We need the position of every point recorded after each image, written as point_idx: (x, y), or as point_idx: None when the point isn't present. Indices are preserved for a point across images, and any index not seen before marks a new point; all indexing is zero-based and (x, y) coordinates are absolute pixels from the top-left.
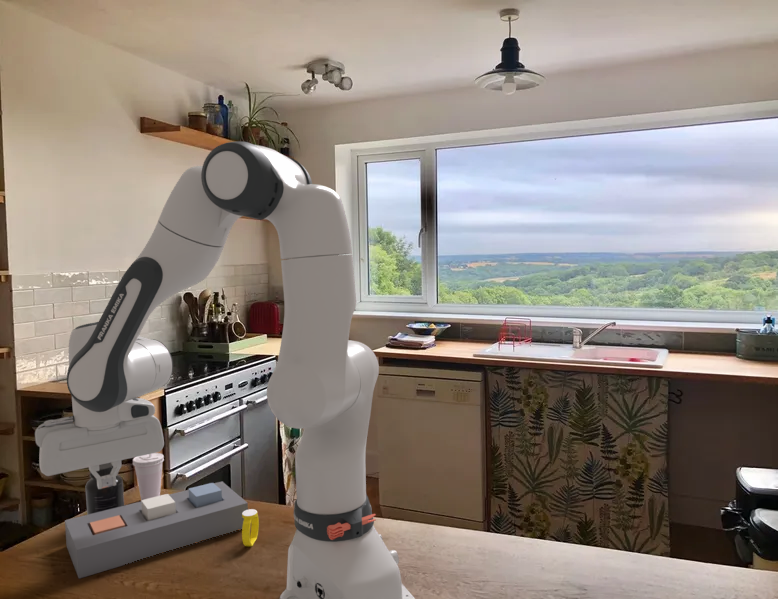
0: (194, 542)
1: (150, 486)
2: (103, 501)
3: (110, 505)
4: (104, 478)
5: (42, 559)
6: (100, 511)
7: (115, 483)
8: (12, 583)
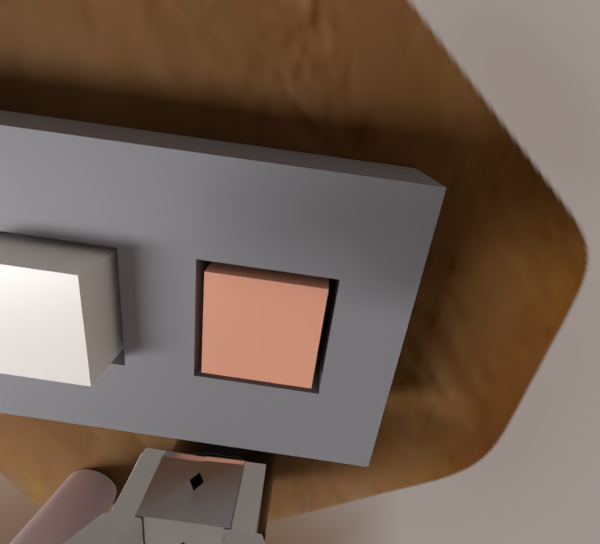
0: (11, 111)
1: (59, 520)
2: None
3: None
4: (203, 531)
5: (438, 371)
6: None
7: (145, 455)
8: (561, 294)
